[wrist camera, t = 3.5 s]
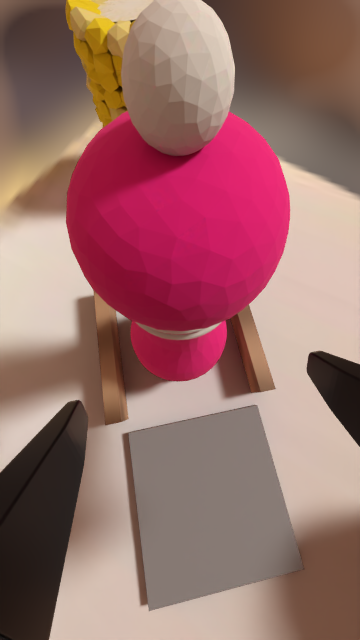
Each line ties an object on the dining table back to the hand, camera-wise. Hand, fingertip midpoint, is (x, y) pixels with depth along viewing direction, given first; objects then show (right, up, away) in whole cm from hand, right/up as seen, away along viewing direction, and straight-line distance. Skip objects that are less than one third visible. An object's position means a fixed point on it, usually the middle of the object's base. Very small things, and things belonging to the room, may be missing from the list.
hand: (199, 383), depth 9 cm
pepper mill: (-1, 0, +13) cm, 13 cm away
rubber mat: (+1, -11, +9) cm, 14 cm away
